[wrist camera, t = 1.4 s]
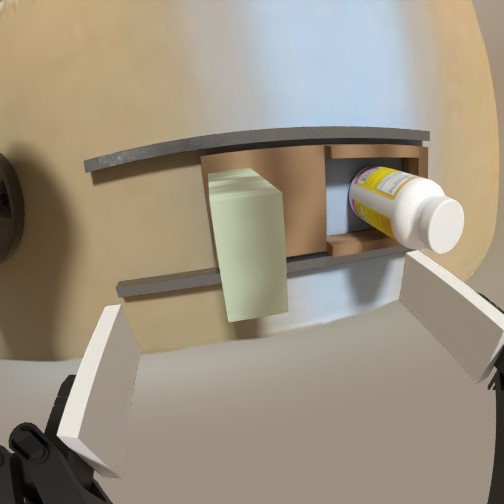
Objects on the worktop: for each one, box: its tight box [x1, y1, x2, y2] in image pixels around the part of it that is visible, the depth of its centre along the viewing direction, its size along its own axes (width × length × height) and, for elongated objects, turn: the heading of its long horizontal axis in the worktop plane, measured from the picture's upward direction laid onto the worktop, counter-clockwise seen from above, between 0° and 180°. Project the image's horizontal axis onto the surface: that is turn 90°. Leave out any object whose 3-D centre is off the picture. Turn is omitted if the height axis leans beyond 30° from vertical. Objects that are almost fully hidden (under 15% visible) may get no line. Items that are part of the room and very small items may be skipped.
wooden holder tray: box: [200, 144, 428, 322], centre depth 24 cm, size 24×11×13 cm, turn 95°
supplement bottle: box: [349, 166, 464, 254], centre depth 25 cm, size 7×7×13 cm
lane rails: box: [84, 126, 430, 297], centre depth 29 cm, size 38×15×2 cm, turn 95°
